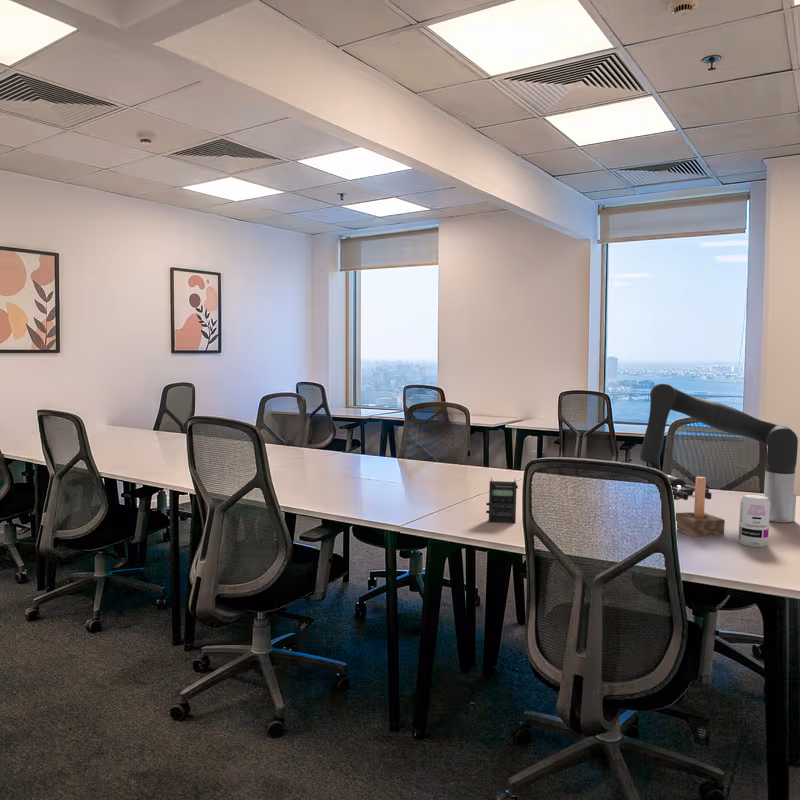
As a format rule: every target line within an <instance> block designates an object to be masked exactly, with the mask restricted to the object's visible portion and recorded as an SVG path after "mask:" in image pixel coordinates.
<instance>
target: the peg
mask: <svg viewBox="0 0 800 800" xmlns="http://www.w3.org/2000/svg"><path fill="white" fill-rule="evenodd" d="M706 479H707V478H706V477H704V476H696V477H695V486H694V487H695V492H694V495H695V497H694V509H693V510H694V511H693V512H694V517H696V518H704V512H705V500H706V498H705V488H706V482H707V481H706Z"/></svg>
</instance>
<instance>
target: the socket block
mask: <svg viewBox="0 0 800 800" xmlns="http://www.w3.org/2000/svg"><path fill="white" fill-rule="evenodd" d="M675 513H676V521H677V528H678V529H679V530H678V529H677V530H678V531H680V530H681V532H682V531H684V532H683V533H685V532H686V533H685V534H687V533H688V534H687V535H689V534H690V535H689V536H691V535H692V537H711V536H710V535H716V536H725V524H726V523H725V521H726V520H725V519H723V518H720V517H718V516H715V515H713V514H710V513H707V512H705V511H704V518H696V517H694V511H692V512H690V511H689V512H675Z"/></svg>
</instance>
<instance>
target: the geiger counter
mask: <svg viewBox="0 0 800 800" xmlns="http://www.w3.org/2000/svg"><path fill="white" fill-rule="evenodd" d="M492 479H493V478H492V477H490V481H489V489H488V491H489V492H488V493H489V495H488V496H489V497H488V498H489V499H488V502H486V505H485V506H488V510H486V511H485V514H488V523H501V524H502V523H503V524H516V521H517V519H516V518H517V489H519V487H518V486H519V485H518V484H517V482H516V478H514V481H500V480H498V481H497V480H496V481H495V480H492Z"/></svg>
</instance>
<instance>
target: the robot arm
mask: <svg viewBox="0 0 800 800" xmlns="http://www.w3.org/2000/svg"><path fill="white" fill-rule="evenodd" d="M649 398H650V405H649V406H650V407H649V409H650V411H649V415H648V416H649V417H648V422H647V427H646V430H645V433H644V437H643V442H642V445H641V449H640V455H639V458H640V460H641V461H642V462H645V463H647V465H648V468H649V467H653V468H656V469H658V470H660V471H661V466H660V465H661V463H660V462H661V461H660V459H661V454H662V450H663V446H664V440H665V439H664V438H665V431H666V426H667V425H666V424H667V422H668V417H669V415H670V412H671V411H674V412H675V413H676V412H678V413H681V414H683V415H685V416H688V417H690V418H691V419H694V420H695V421H698V422H699V423H701V424H703V425H706V426H708V427H711V428H713V429H715V430H718V431H721V432H724V433H727V434H731V435H737V436H741V437H746V438H748V439H749V438H750V439H752V440H754V441H757V442H759V443H761V444H764V445H765V446H767V447H766V450H767V451H766V461H765V469H764V471H765V472H764V487H763V488H764V490H763V496H767V497H768V499H769V501H770V516H769V522H774V523H782V524H783V523H785V524H787V523H791V522H795V521H796V504H797V494H796V493H795V478H796V477H795V476H796V468H797V463H798V462H797V459H798V450H799V449H798V447H799V446H798V445H799V440H798V439H799V437H798V436H797V434H796V432H794V431H793V430H792V429H791V428H790V427H788V426H786V425H782V424H781V425H780V424H778V423H777V424H776V423H772V422H768V421H764V420H761V419H758V418H756V417H753V416H752V415H749V414H747V413H745V412H743V411H741V410H738V409H736V408H734V407H731V406H729V405H726V404H724V403H721V402H718V401H715V400H710V399H707V398H701V397H696V396H693V395H690V394H688V393H685V392H684V391H681V390H680V389H678V388H675V387H673V385H670V384H668V383H658V384H656V385H655V386H653V387H652V389H651V390H650V392H649ZM666 475H667V476H668V478H669V479H670V482H671V485H672V490H673V495H674V499H673V500H675V501H677V500H678V501H679V500H681V499H682V500H684V501H688V500H689V498H695V494H694V493H695V486H691V485H688V484H687V482H686V481H685V480H684V479H681V478H679V477H676V476H673V475H669V474H666ZM709 491H710V489H708V488H706V487H705V500H711V499H712V492H709Z"/></svg>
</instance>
